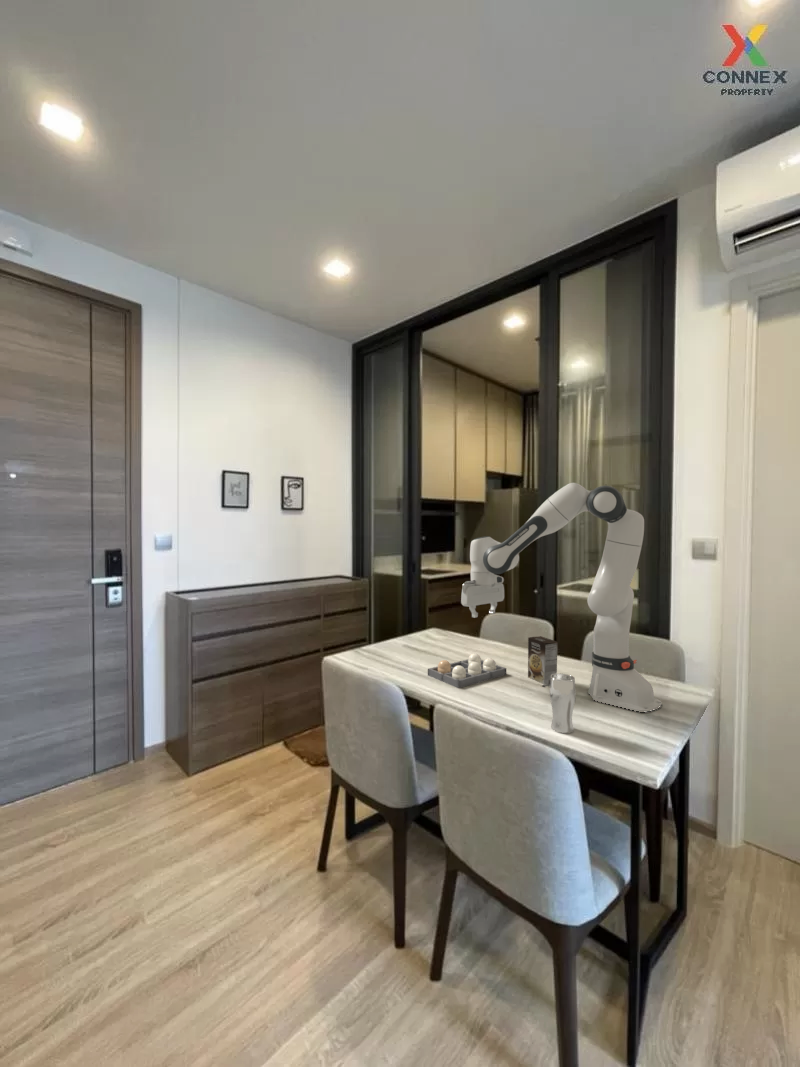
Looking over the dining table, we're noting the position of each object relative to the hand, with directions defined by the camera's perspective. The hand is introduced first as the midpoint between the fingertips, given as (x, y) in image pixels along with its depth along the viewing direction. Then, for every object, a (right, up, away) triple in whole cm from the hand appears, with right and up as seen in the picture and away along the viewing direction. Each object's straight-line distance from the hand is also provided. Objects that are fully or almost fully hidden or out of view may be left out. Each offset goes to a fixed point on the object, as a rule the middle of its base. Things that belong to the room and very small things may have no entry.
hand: (483, 615), depth 175 cm
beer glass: (+15, -25, -43) cm, 52 cm away
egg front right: (+3, -23, +2) cm, 23 cm away
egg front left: (-10, -23, -7) cm, 26 cm away
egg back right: (-2, -23, +9) cm, 24 cm away
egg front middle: (-4, -23, -2) cm, 23 cm away
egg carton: (-6, -24, +1) cm, 25 cm away
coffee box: (+21, -24, -4) cm, 32 cm away
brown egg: (-15, -23, 0) cm, 27 cm away
